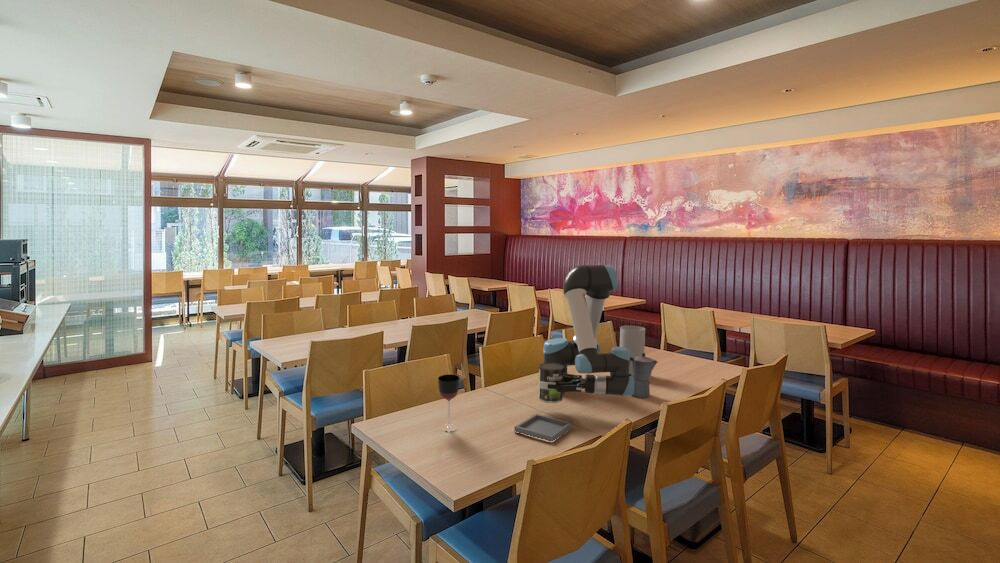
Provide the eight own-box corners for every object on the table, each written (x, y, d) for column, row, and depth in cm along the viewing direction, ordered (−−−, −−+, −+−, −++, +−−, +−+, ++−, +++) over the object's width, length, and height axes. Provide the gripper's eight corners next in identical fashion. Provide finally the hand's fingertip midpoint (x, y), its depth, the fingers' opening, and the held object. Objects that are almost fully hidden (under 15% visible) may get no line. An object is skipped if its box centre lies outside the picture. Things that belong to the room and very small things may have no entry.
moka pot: (657, 399, 228) (659, 356, 226) (622, 397, 231) (623, 354, 229) (655, 393, 237) (657, 351, 235) (621, 390, 240) (622, 349, 238)
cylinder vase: (628, 370, 274) (630, 324, 271) (648, 375, 264) (650, 328, 261) (613, 374, 266) (615, 327, 263) (633, 380, 256) (635, 331, 253)
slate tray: (514, 432, 191) (514, 426, 191) (535, 419, 204) (536, 413, 204) (551, 443, 182) (551, 437, 182) (571, 428, 195) (571, 422, 195)
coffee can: (566, 402, 208) (567, 368, 206) (543, 404, 205) (544, 370, 203) (557, 393, 218) (558, 361, 216) (534, 395, 215) (535, 363, 213)
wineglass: (459, 423, 200) (459, 374, 197) (458, 432, 191) (458, 381, 189) (439, 423, 199) (439, 374, 197) (437, 432, 191) (437, 381, 188)
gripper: (595, 403, 197) (537, 399, 200) (594, 383, 219) (542, 380, 222) (595, 384, 196) (538, 380, 199) (594, 367, 218) (543, 364, 221)
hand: (540, 380), depth 211 cm, fingers closed on coffee can, 10 cm apart
